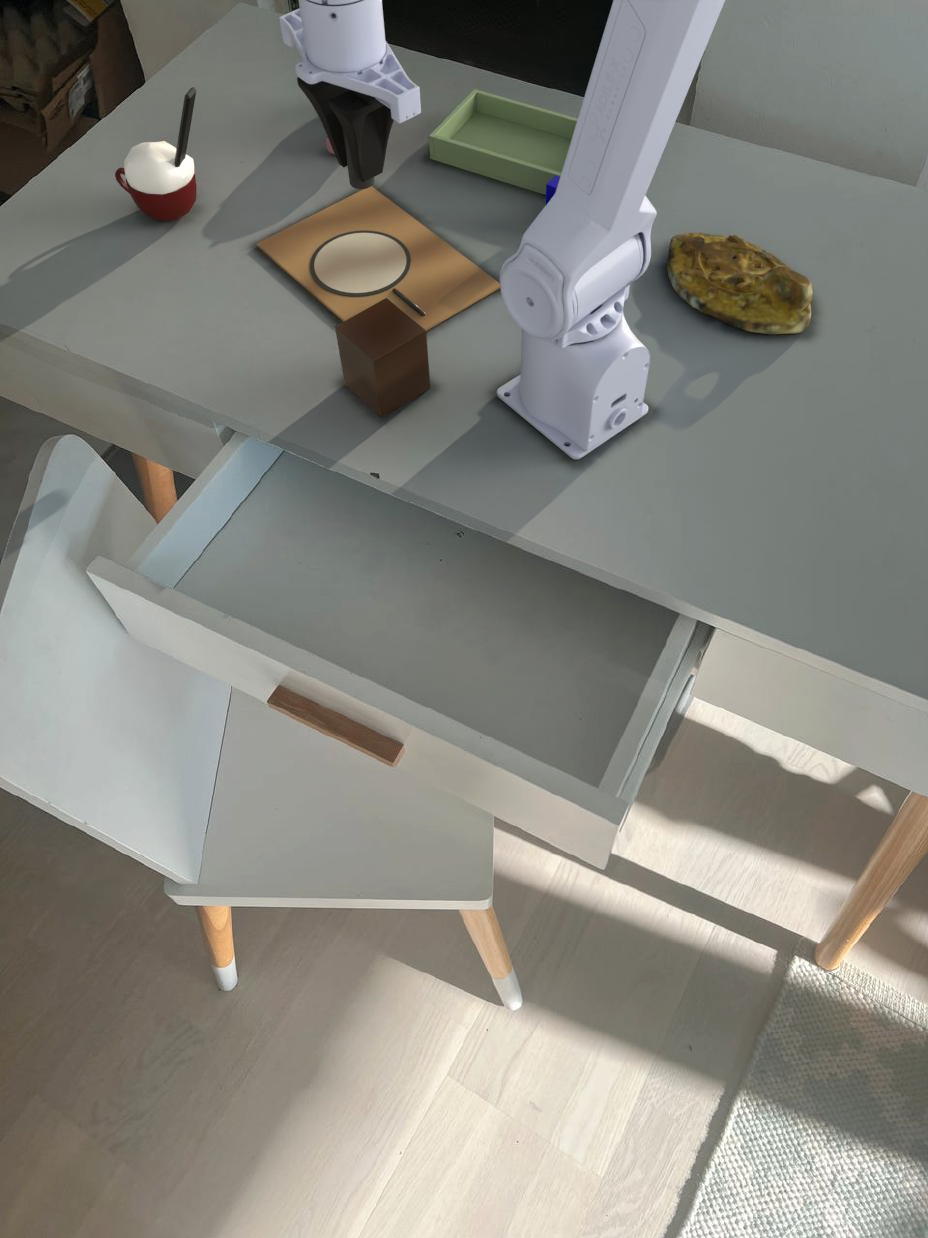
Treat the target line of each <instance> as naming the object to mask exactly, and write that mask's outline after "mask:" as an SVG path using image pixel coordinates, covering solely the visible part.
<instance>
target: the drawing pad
mask: <svg viewBox="0 0 928 1238" xmlns="http://www.w3.org/2000/svg"><path fill="white" fill-rule="evenodd" d="M256 247H257V248H258V249H259V250H261V252H263V253H264V254H265V255H266V256H267V257H268V258H270V259H271V260H272V261H273V262H274V263H275V264H276V265H278V266H279V267H280V268H281V269H282V270H283V271H284V272H286V274H288V275H289V276H290V277H291V278H292V279H293V280H295V281H296V283H298V284H299V285H300V286H301V287H303V288H304V289H305V290H306V291H307V292H308V293H310V295H312V296H313V297H314V298H315V299H317V300H318V301H319V302H320V303H321V304H322V305H324V306H325V307H326V308H327V309H328V310H329V311H331V312H332V314H334V315H335V316H336V317H337V318H338V319H339V320H340V321H342V322H344V321H345V320H347V319H349V318H351V317H353V316H354V315H356V314H358V313H360V312H362V311H363V310H365V309H367V308H369V307H371V306H372V305H374V304H376V303H378V302H379V301H381V300H383V299H385V298H388V299H389V300H390V301H391V302H392V303H394V304H395V305H396V306H397V307H399V308H400V309H401V310H402V311H403V312H405V313H406V314H407V315H408V316H409V317H411V318H412V319H413V320H414V321H415V322H417V323H418V324H419V325H420V326H421V327H423V328H424V329H425V330H426V332H427V331H429V330H431V329H432V328H435V327H436V326H438V325H439V324H441V323H442V322H444V321H446V320H447V319H449V318H451V317H453V316H454V315H456V314H458V313H460V312H462V311H463V310H465V309H467V308H468V307H470V306H472V305H473V304H475V303H477V302H478V301H480V300H482V299H484V298H486V297H487V296H490V295H491V294H492V293H494V292H496V291H498V290H499V289H500V281H497V280H496V279H495V278H493V277H492V276H491V275H490V274H488V273H487V272H486V271H484V270H483V269H482V268H480V267H479V266H478V265H477V264H475V263H473V262H472V261H471V260H469V258H467V257H466V256H464V255H463V254H462V253H460V252H459V251H458V250H457V249H455V248H454V247H452V246H451V244H449V243H447V242H446V241H445V240H443V239H442V238H441V237H439V236H438V235H437V234H435V233H434V232H433V231H431V230H430V229H428V228H427V227H426V226H425V225H424V224H422V223H421V222H419V220H417V219H415V218H414V217H413V216H412V215H410V214H409V213H408V212H406V211H405V210H404V209H402V208H401V207H400V206H398V205H397V204H396V203H394V202H393V201H392V200H391V199H389V198H388V197H387V196H385V195H384V194H382V193H381V192H380V191H379V190H378V189H376V187H375V188H374V187H373V185H372V186H371V187H369V188H367V189H360V190H358V191H357V192H355V193H353V194H351V195H349V196H347V197H345V198H343V199H341V200H340V201H338V202H335V203H333V204H331V205H330V206H327V207H326V208H324V209H322V210H320V211H318V212H316V213H313V214H312V215H310V216H308V217H306V218H304V219H302V220H300V221H298V222H296V223H294V224H292V225H290V226H288V227H286V228H284V229H282V230H280V231H278V232H277V233H275V234H272V235H271V236H269V237H266V238H264V239H263V240H261V241H259V242H256Z"/></svg>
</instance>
